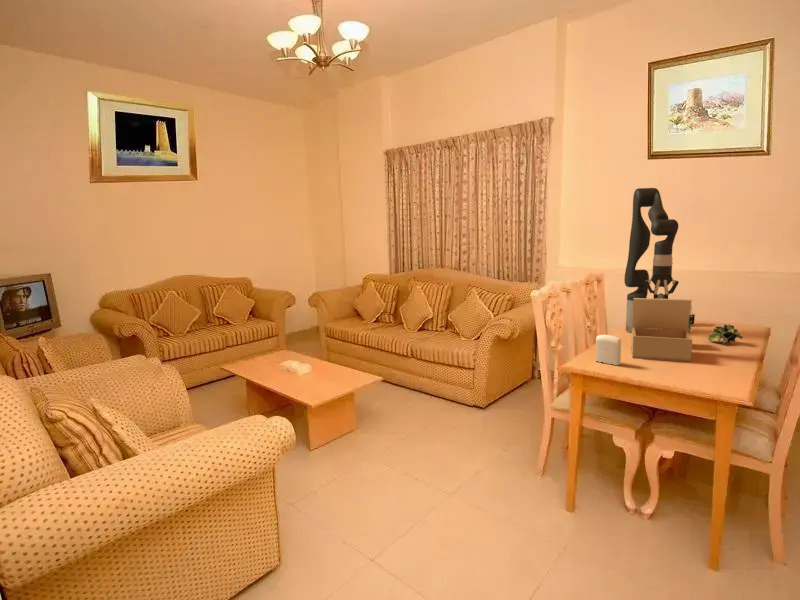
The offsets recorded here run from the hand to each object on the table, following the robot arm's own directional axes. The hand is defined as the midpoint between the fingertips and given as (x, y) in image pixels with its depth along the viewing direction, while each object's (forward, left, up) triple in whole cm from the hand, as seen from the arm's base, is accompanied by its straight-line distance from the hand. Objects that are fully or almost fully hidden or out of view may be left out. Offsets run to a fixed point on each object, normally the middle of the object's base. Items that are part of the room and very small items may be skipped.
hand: (660, 302), depth 206 cm
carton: (+7, 0, -23) cm, 24 cm away
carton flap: (+2, 0, -5) cm, 6 cm away
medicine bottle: (-55, +17, -23) cm, 62 cm away
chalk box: (-10, +8, -23) cm, 26 cm away
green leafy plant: (-20, +29, -23) cm, 42 cm away
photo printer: (+25, -21, -23) cm, 40 cm away
